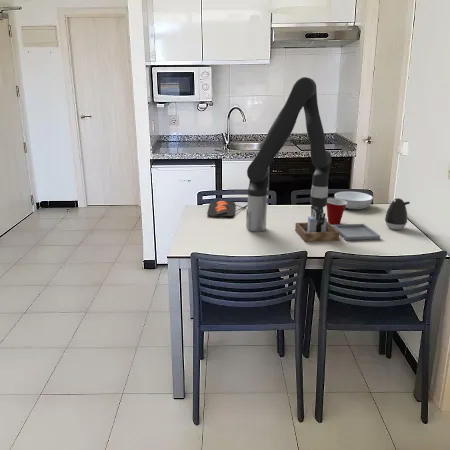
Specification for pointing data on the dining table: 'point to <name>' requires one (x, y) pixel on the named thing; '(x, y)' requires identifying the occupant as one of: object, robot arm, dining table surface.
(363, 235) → the grey tray
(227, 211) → the sushi plate
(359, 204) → the serving bowl
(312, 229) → the medicine box
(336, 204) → the plastic cup
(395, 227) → the pump dispenser
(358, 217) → the dining table surface
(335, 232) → the walnut holder
